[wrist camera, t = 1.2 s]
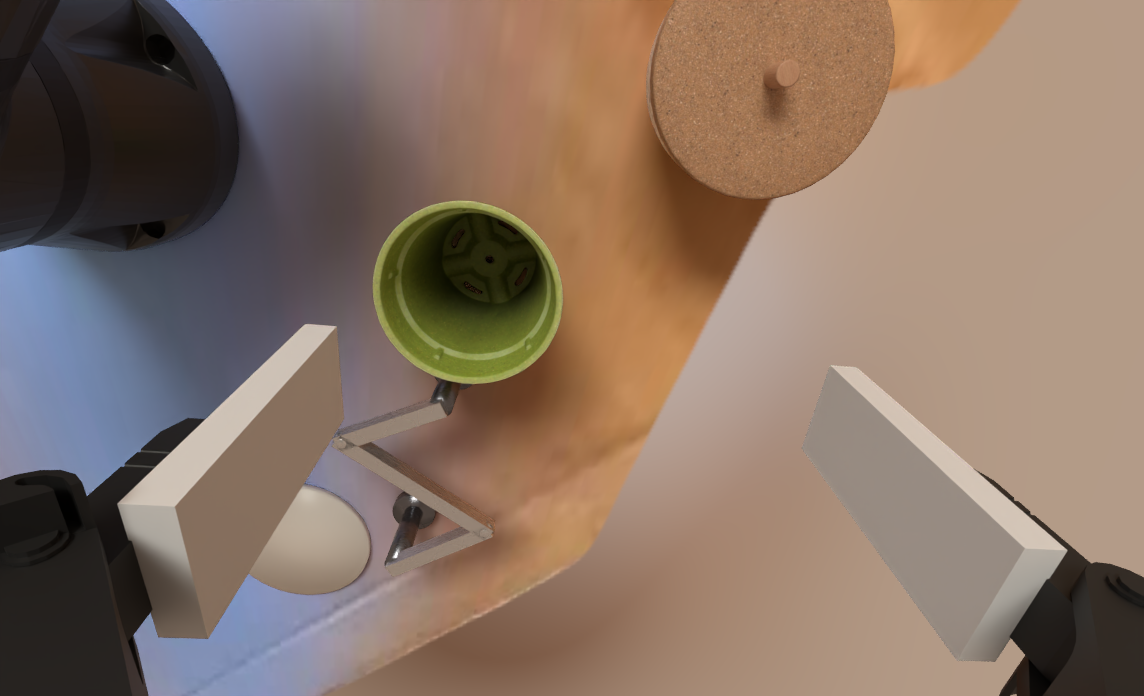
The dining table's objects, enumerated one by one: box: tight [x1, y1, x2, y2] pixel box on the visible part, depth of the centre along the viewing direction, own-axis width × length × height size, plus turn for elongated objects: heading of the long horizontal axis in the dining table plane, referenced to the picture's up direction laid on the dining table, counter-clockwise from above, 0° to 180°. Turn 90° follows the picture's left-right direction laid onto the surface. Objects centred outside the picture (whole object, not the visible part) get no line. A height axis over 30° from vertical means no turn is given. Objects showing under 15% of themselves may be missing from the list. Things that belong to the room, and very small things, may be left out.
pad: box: [249, 484, 371, 595], centre depth 43 cm, size 11×11×1 cm
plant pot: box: [373, 201, 563, 384], centre depth 31 cm, size 9×9×9 cm
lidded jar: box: [646, 0, 895, 200], centre depth 27 cm, size 11×11×9 cm
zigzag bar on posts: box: [332, 376, 495, 577], centre depth 37 cm, size 11×16×7 cm
